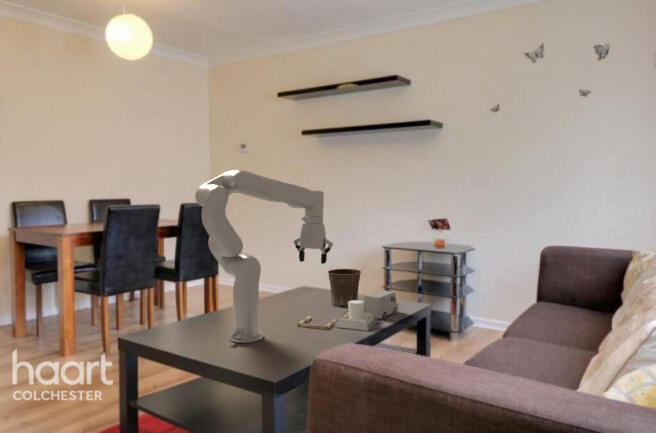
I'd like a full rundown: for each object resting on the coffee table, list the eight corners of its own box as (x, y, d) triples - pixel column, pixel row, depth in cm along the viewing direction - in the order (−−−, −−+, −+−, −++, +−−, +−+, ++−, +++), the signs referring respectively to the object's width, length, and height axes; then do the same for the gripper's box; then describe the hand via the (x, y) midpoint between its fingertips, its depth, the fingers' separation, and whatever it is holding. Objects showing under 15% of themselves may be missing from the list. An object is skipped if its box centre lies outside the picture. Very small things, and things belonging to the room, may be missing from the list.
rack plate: (367, 330, 191) (367, 321, 190) (334, 327, 196) (334, 318, 196) (377, 321, 204) (377, 312, 203) (345, 318, 209) (346, 309, 209)
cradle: (326, 329, 192) (326, 326, 192) (297, 326, 197) (297, 323, 197) (337, 321, 203) (337, 319, 203) (309, 318, 208) (309, 316, 208)
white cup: (354, 321, 195) (354, 304, 194) (344, 317, 200) (344, 301, 200) (367, 318, 199) (367, 302, 198) (357, 315, 204) (357, 298, 204)
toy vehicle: (399, 312, 219) (399, 290, 218) (379, 321, 204) (379, 298, 203) (382, 309, 224) (382, 288, 223) (362, 318, 209) (362, 295, 209)
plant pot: (320, 304, 234) (320, 271, 233) (344, 298, 245) (344, 267, 244) (343, 310, 222) (344, 275, 221) (368, 304, 233) (368, 271, 232)
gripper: (290, 219, 197) (289, 261, 198) (329, 222, 190) (328, 265, 191) (298, 219, 204) (297, 259, 205) (336, 221, 197) (335, 263, 198)
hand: (312, 262), depth 198 cm, fingers open, 9 cm apart
